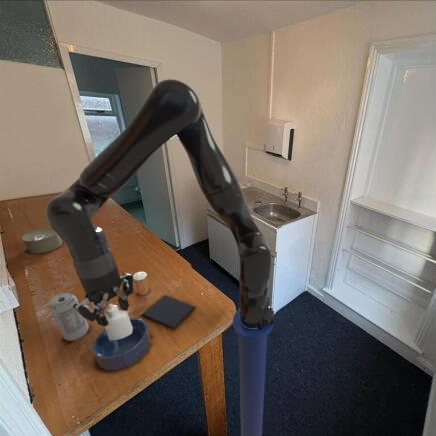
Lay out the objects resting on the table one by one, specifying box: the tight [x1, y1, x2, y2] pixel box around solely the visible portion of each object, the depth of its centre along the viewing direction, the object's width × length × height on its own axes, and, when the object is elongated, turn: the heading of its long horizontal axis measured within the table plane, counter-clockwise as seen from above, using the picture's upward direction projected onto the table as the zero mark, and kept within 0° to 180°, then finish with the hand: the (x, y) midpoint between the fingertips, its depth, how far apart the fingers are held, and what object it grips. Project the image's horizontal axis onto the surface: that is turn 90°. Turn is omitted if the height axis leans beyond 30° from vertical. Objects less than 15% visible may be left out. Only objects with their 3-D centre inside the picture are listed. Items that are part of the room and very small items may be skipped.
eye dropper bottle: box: [103, 303, 133, 340], centre depth 65 cm, size 4×6×12 cm
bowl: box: [91, 317, 151, 371], centre depth 69 cm, size 13×13×6 cm
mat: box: [142, 294, 196, 330], centre depth 84 cm, size 14×10×1 cm
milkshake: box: [132, 271, 149, 296], centre depth 89 cm, size 4×5×10 cm
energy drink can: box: [48, 292, 90, 341], centre depth 70 cm, size 6×6×15 cm
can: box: [21, 228, 63, 254], centre depth 111 cm, size 12×12×7 cm
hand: (115, 316), depth 65 cm, fingers closed on eye dropper bottle, 5 cm apart
